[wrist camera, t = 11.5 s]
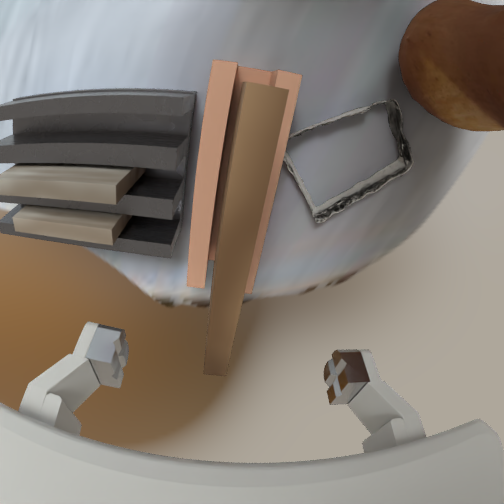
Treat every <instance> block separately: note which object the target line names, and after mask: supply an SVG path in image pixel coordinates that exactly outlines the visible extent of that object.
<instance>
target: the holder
mask: <svg viewBox="0 0 504 504" xmlns="http://www.w3.org/2000/svg"><path fill="white" fill-rule="evenodd" d="M301 79H302V75H300V74H296V73H291V72H287V71H282V70H276V71H272V72H270V71H265V70H259V69H254V68H247V67H241V66H238V63H237V62H230V61H222V60H213V62H212V68H211V73H210V79H209V85H208V91H207V97H206V103H205V110H204V116H203V123H202V130H201V137H200V145H199V153H198V161H197V169H196V178H195V187H194V197H193V207H192V218H191V230H190V243H189V257H188V272H187V286H189V287H196V288H205V280H206V273H207V266H208V260H215V251H216V243H217V236H218V229H219V222H220V215H221V208H222V201H223V195H224V188H225V182H226V175H227V169H228V163H229V157H230V151H231V145H232V139H233V133H234V127H235V122H236V116H237V110H238V105H239V99H240V94H241V89H242V84H243V82H252V83H258V84H263V85H269V86H274V87H279V88H284V89H288V90H289V93H288V98H287V102H286V107H285V112H284V116H283V121H282V125H281V130H280V134H279V139H278V144H277V148H276V153H275V157H274V162H273V166H272V171H271V175H270V180H269V184H268V189H267V194H266V198H265V203H264V207H263V212H262V216H261V221H260V225H259V230H258V234H257V239H256V243H255V248H254V253H253V257H252V262H251V266H250V271H249V275H248V280H247V284H246V289H245V293H246V294H252V290H253V286H254V281H255V277H256V273H257V269H258V265H259V261H260V256H261V252H262V248H263V244H264V240H265V235H266V231H267V227H268V223H269V218H270V214H271V210H272V206H273V201H274V197H275V193H276V189H277V184H278V180H279V176H280V171H281V167H282V163H283V158H284V154H285V150H286V145H287V141H288V136H289V132H290V128H291V123H292V119H293V114H294V110H295V106H296V101H297V97H298V92H299V88H300V83H301Z"/></svg>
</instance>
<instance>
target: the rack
mask: <svg viewBox="0 0 504 504" xmlns="http://www.w3.org/2000/svg"><path fill="white" fill-rule="evenodd" d="M195 98H196V92H195V91H183V90H168V89H141V88H116V89H89V90H75V91H63V92H54V93H46V94H38V95H32V96H25V97H20V98H16V99H13V101H11V102H8V103H4V104H1V105H0V121H3V120H10V119H13V135H10V136H8V137H6V138H4V139H2V140H0V163H15V165H16V164H18V163H73V164H96V165H113V166H128V167H140V168H146V169H145V172H144V173H143V174H142V176H141V177H140V178H139V179H138V180H137V181H136V182H135V183H134V185H133V186H132V187H131V188H130V189H129V190H128V191H127V193H126V194H125V195H124V196H123V197H122V199H121V200H120V201H119V202H118V203H117V205H114V204H104V203H94V202H84V201H73V200H61V199H49V198H36V197H23V196H8V195H0V202H5V203H17V204H18V205H17V206H16V207H15V208H13V209H12V210H11V211H10V212H9V213H8V214H6V215H5V216H4V217H3V218H2V219H1V220H0V232H1V233H3V234H10V235H16V236H22V237H28V238H35V239H41V240H47V241H54V242H61V243H67V244H73V245H80V246H87V247H94V248H100V249H107V250H114V251H121V252H128V253H136V254H143V255H150V256H157V257H165V258H171V256H172V253H173V250H174V247H175V244H176V241H177V238H178V235H179V233H180V230H181V227H182V215H183V202H184V190H185V179H186V169H187V159H188V150H189V142H190V134H191V126H192V119H193V111H194V105H195ZM27 204H29V205H40V206H50V207H61V208H71V209H80V210H90V211H99V212H109V213H118V214H127V215H132V217H131V218H130V220H129V221H128V223H127V224H126V226H125V227H124V229H123V230H122V232H121V233H120V235H119V236H118V238H117V240H116V241H115V243H114V244H113V245H107V244H99V243H92V242H85V241H78V240H71V239H64V238H58V237H51V236H44V235H37V234H31V233H24V232H17V231H15V227H14V223H13V218H12V217H13V216H14V215H16V214H17V213H18V212H19V211H20V210H21V209H22V208H24V207H25V206H26V205H27Z"/></svg>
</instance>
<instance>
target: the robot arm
mask: <svg viewBox="0 0 504 504" xmlns="http://www.w3.org/2000/svg"><path fill="white" fill-rule="evenodd" d="M125 337H126V334H125V330H124V329H119V328H114V327H110V326H105V325H101V324H97V323H92V322H87V323H86V325H85V326H84V329H83V331H82V333H81V335H80V338H79V340H78V342H77V345H76V347H75V350H74V352H73V355H72V354H69V355H67V356H66V357H64V358H63V359H61V360H60V361H59V362H57V363H56V364H55V365H53V366H52V367H51V368H49V369H48V370H46V371H45V372H44V373H42V374H41V375H40V376H38V377H37V378H36V379H34V380H33V381H31V382H30V383H29V384H28V387H27V389H26V392H25V394H24V397H23V400H22V402H21V405H20V408H19V411H16V410H14V409H12V408H10V407H8V406H6V405H4V404H2V403H0V504H504V450H503V447H502V443H501V441H500V438H499V436H498V434H497V433H496V432H495V431H494V430H493V429H492V428H491V427H490V426H489V425H488V424H487V423H485V422H484V421H482V420H480V419H476V420H473V421H471V422H468V423H465V424H463V425H460V426H458V427H455V428H452V429H450V430H447V431H444V432H441V433H438V434H436V435H432V436H429V437H426V435H425V431H424V428H423V425H422V422H421V419H420V416H419V413H418V412H417V411H416V410H415V409H414V408H413V407H412V406H411V405H409V404H408V403H407V402H406V401H405V400H404V399H403V398H402V397H401V396H400V395H399V394H398V393H397V392H395V391H394V390H393V389H392V388H391V387H390V386H389V385H388V384H387V383H386V382H385V381H381V379H380V376H379V373H378V370H377V367H376V364H375V361H374V359H373V356H372V353H371V352H370V350H357V349H356V350H336V351H334V353H333V354H332V358H333V359H331V360H329V361H328V362H327V363H326V365H325V368H324V380H325V383H326V384H327V385H328V386H329V388H328V390H327V394H328V399H329V403H330V405H333V404H334V405H336V404H348V406H349V407H350V409H351V410H352V411H353V412H354V414H355V415H356V416H357V417H358V419H359V420H360V421H361V422H362V423H363V425H364V426H365V427H366V428H367V430H368V431H369V432H370V433H371V436H370V437H368V438H367V439H365V440H364V441H363V443H362V444H363V449H364V453H362V454H356V455H349V456H344V457H336V458H329V459H320V460H310V461H299V462H281V463H232V462H231V463H230V462H214V461H213V462H212V461H201V460H192V459H183V458H175V457H168V456H162V455H156V454H150V453H145V452H140V451H135V450H130V449H125V448H122V447H118V446H114V445H110V444H106V443H102V442H99V441H95V440H92V439H88V438H85V437H82V436H79V434H80V430H81V423H80V421H79V420H78V419H77V418H76V417H75V415H74V414H73V412H74V411H75V410H76V409H77V408H78V407H79V406H80V405H81V404H82V403H83V402H84V401H85V400H86V399H87V398H88V397H89V396H90V395H91V394H92V393H93V392H94V391H95V390H96V389H97V388H98V387H99V386H100V384H102V385H106V386H111V387H116V388H120V386H121V383H122V379H123V375H124V374H123V371H122V368H123V367H124V366H125V365H126V364H127V360H128V352H129V349H128V343H127V341H126V340H125Z"/></svg>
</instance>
